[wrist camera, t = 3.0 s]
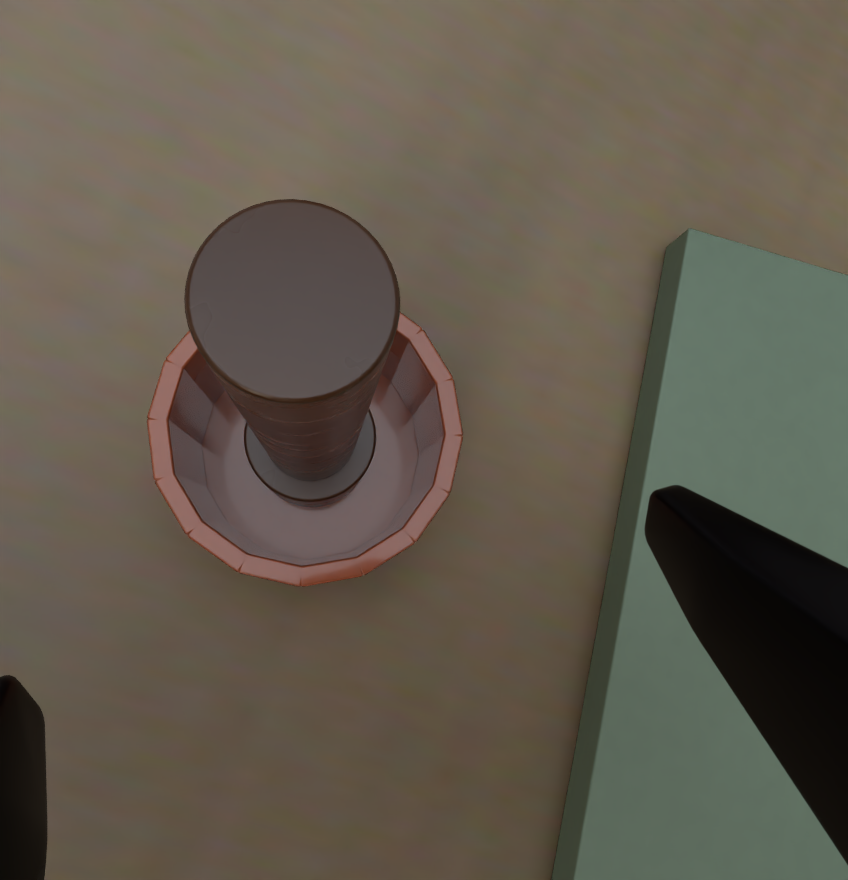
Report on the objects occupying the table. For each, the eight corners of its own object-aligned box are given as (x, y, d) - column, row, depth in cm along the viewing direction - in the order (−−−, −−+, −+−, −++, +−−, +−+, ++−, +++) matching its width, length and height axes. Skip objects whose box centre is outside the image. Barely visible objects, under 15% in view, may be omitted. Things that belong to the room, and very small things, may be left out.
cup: (399, 596, 20) (424, 615, 15) (162, 542, 20) (107, 543, 15) (450, 372, 21) (488, 324, 17) (228, 313, 21) (199, 244, 16)
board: (946, 1038, 21) (994, 1076, 19) (534, 967, 19) (551, 1002, 18) (1008, 347, 24) (1052, 335, 23) (665, 246, 23) (688, 227, 22)
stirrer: (353, 518, 20) (409, 486, 7) (242, 492, 19) (89, 407, 7) (380, 411, 20) (476, 200, 8) (272, 383, 20) (181, 114, 7)
